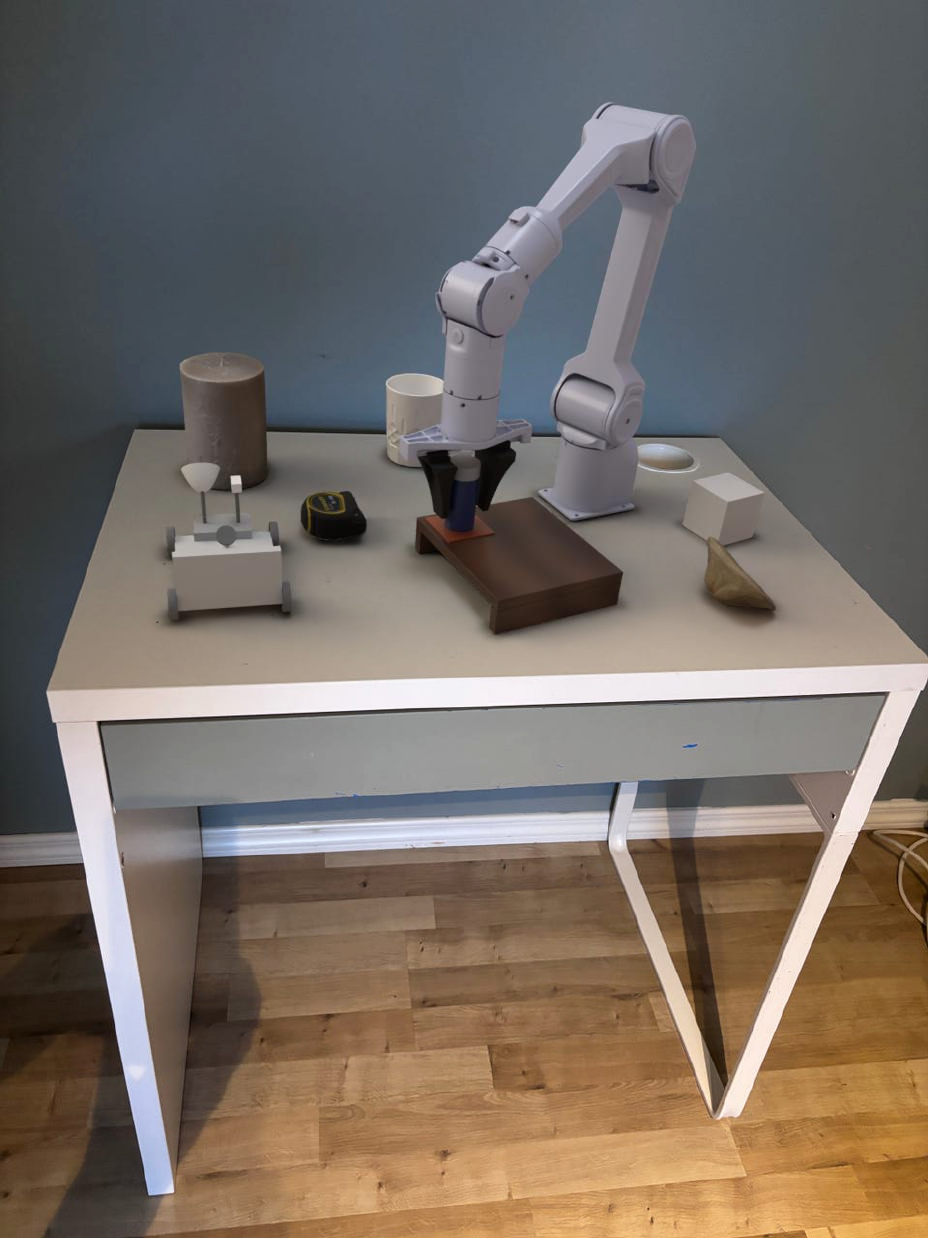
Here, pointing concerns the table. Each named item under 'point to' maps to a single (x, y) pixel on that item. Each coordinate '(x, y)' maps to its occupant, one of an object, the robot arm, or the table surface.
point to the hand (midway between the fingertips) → (460, 510)
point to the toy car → (224, 556)
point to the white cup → (411, 410)
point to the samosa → (732, 580)
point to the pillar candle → (226, 415)
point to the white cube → (723, 508)
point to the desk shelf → (524, 563)
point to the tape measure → (332, 516)
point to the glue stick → (463, 493)
